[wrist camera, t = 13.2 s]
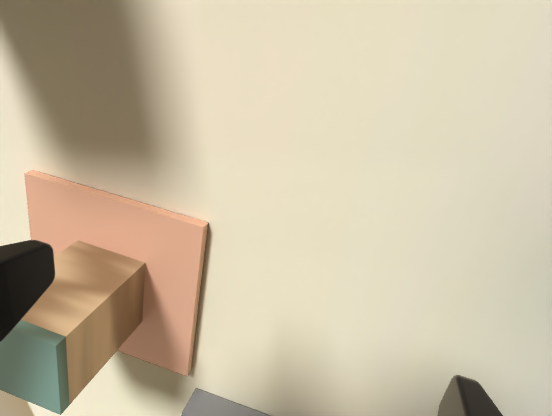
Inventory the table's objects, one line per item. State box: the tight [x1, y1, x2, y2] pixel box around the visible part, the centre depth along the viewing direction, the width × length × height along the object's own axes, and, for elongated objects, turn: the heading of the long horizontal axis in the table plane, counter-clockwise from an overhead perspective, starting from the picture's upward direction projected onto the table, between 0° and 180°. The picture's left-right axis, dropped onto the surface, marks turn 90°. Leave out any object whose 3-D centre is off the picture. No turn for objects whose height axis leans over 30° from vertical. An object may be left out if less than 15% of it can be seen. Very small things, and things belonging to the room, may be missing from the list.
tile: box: [24, 170, 208, 376], centre depth 26 cm, size 11×11×1 cm
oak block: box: [0, 240, 145, 415], centre depth 22 cm, size 4×4×7 cm
